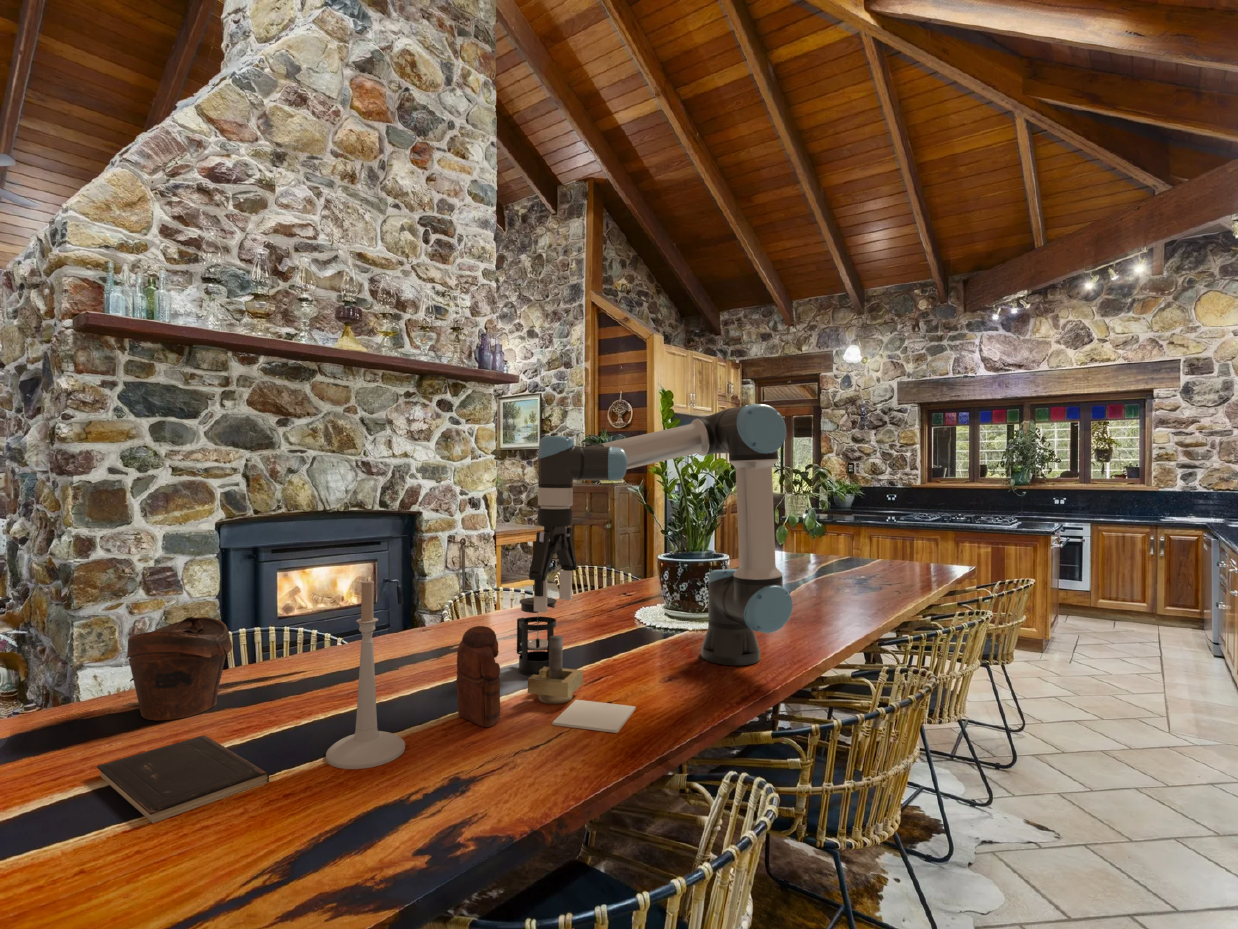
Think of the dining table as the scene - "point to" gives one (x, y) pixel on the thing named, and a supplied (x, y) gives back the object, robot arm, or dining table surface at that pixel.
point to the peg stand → (555, 668)
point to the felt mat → (595, 716)
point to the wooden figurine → (478, 677)
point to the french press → (536, 659)
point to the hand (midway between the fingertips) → (553, 605)
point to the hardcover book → (180, 777)
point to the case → (178, 667)
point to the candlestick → (366, 706)
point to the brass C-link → (555, 683)
